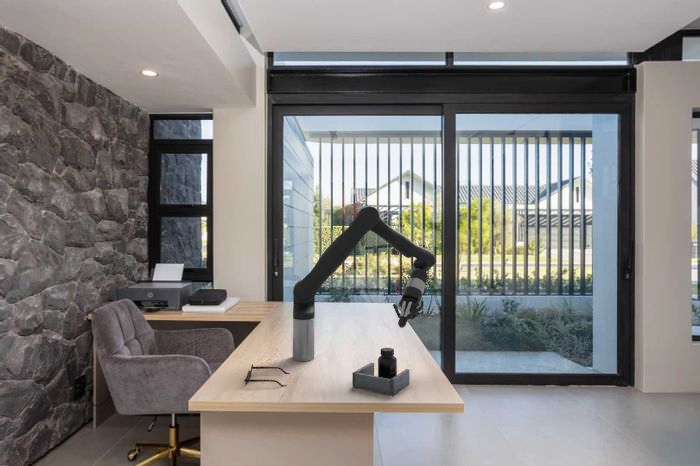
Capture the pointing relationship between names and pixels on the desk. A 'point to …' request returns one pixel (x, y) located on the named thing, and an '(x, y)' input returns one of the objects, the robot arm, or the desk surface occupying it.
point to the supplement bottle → (387, 364)
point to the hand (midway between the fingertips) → (401, 326)
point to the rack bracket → (379, 381)
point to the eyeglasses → (262, 380)
